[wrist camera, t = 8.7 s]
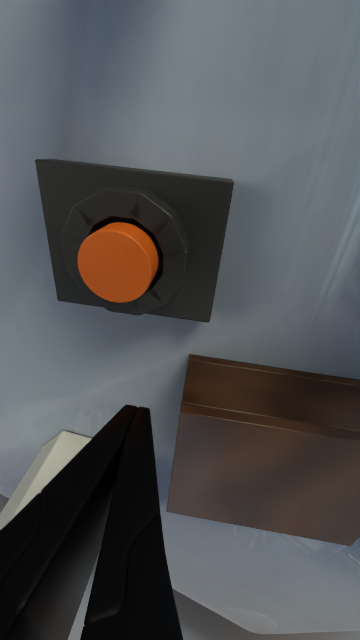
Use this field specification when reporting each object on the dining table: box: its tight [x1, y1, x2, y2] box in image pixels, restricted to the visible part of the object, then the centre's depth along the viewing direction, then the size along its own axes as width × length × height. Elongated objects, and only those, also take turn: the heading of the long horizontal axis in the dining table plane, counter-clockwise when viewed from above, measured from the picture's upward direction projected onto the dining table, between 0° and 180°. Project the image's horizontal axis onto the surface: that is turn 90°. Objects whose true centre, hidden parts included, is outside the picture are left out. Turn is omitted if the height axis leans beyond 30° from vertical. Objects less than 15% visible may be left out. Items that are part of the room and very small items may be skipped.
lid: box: [167, 404, 360, 546], centre depth 19 cm, size 15×12×1 cm
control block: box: [35, 159, 234, 322], centre depth 15 cm, size 10×8×4 cm
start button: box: [78, 222, 159, 303], centre depth 13 cm, size 4×4×2 cm
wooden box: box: [181, 354, 360, 432], centre depth 21 cm, size 14×12×5 cm
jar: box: [0, 431, 92, 530], centre depth 25 cm, size 9×8×12 cm
